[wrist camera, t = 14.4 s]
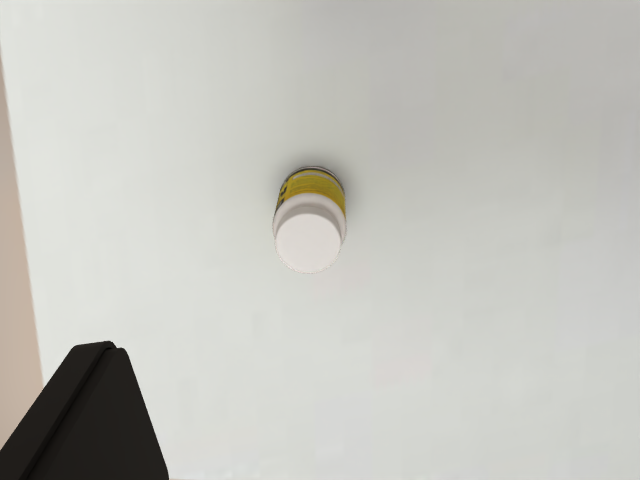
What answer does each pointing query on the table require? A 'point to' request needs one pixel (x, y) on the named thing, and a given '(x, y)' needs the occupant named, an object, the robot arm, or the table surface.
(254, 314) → the table surface
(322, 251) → the supplement bottle
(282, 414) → the table surface
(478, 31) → the table surface
